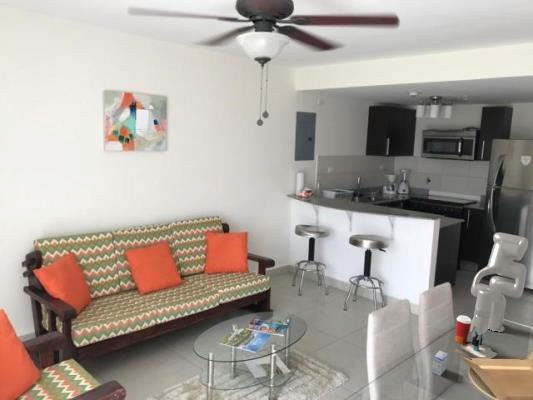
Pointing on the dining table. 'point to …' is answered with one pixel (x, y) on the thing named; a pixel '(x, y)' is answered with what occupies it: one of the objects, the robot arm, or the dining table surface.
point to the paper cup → (462, 329)
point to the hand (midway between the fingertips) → (476, 344)
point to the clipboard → (472, 351)
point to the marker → (478, 345)
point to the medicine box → (439, 363)
